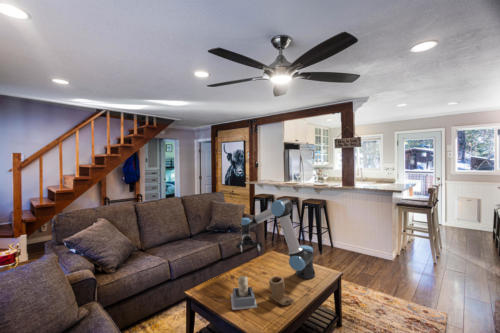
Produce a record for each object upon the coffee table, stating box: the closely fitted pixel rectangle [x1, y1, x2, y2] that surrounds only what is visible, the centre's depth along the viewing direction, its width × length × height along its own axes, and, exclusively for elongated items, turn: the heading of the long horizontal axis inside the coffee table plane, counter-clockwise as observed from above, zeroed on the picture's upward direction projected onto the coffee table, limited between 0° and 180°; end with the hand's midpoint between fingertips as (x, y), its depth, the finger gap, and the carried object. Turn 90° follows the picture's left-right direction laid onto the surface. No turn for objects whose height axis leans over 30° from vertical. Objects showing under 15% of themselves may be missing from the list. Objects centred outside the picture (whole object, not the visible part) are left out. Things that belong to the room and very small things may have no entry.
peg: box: [237, 275, 249, 298], centre depth 159 cm, size 6×6×15 cm
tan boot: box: [268, 275, 295, 306], centre depth 159 cm, size 15×12×15 cm
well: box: [230, 286, 258, 311], centre depth 159 cm, size 16×16×6 cm
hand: (250, 249), depth 179 cm, fingers open, 13 cm apart
